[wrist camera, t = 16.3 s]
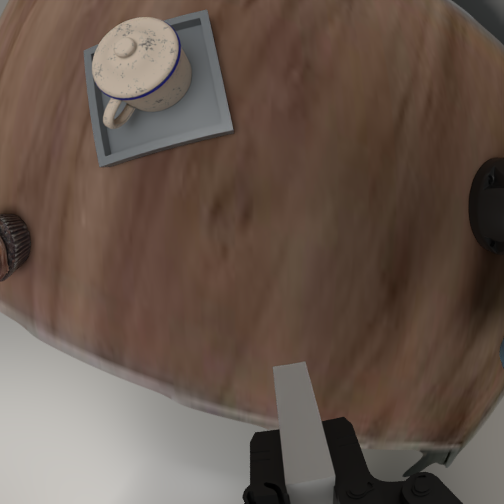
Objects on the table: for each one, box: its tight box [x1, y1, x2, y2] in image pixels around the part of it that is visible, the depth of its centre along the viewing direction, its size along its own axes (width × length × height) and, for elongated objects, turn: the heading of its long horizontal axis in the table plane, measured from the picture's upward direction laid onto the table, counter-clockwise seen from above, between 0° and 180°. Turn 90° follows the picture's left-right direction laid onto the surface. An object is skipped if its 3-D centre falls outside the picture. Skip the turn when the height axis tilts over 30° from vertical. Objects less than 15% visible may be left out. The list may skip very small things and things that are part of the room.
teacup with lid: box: [92, 17, 192, 129], centre depth 26 cm, size 12×9×12 cm
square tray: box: [84, 10, 234, 167], centre depth 31 cm, size 16×16×3 cm
